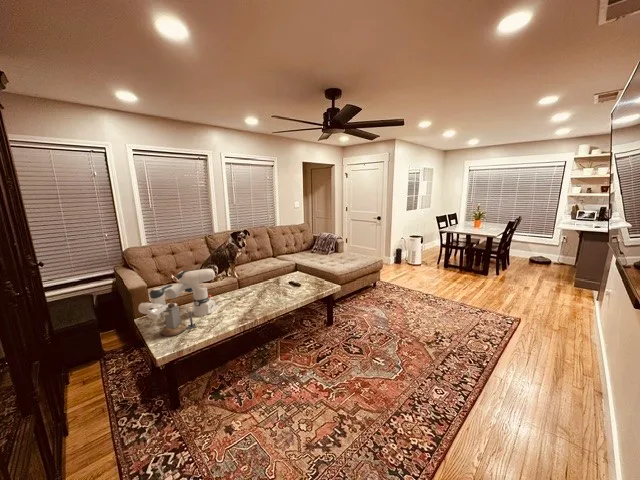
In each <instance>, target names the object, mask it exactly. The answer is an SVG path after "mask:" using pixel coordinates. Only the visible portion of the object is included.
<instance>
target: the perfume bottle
mask: <svg viewBox="0 0 640 480" xmlns="http://www.w3.org/2000/svg"><path fill="white" fill-rule="evenodd" d="M169 303H170V304H168V303H167V304H168V307H167V308H166V311H165V312H169V315H164V318H165V319H164V320H165V326H166V327H167V328H170V329H175V328H177V327H178V326H180V325H181V322H182V321H181V314H180V308H179V307H178V305H177V306H175V303H176V302H169Z"/></svg>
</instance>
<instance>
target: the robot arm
mask: <svg viewBox="0 0 640 480" xmlns="http://www.w3.org/2000/svg"><path fill="white" fill-rule="evenodd" d="M215 276H216V273H215V270H214V269H212V268H202V269H195V270H189V271H188V270H181V271H179V272H178V273H177V275H176V279H177V281H178V282H176V283H172V284H165V285H161V286H159V287H155V288H152V289H150V291H149V293H148V294H149V297H150V302H141V303H140V304H139V305H138V312H139V313H141V314H142V315H143V314H144V315H147V318H148V319H153V320H156V319H159V318H161V317H163V316H165V315H169V312H165V311H166V308H167V307H168V304H170V303H171V302H169V303H166V298H167V299H176V298H177V297H179V295H181V294H182V293H183V292H184V293H193V304H192V305H193V306H192V307H193V308H194V311H193V312H192V313H193V316H196V317H203V316H206V315H210V314H211V315H212V314H213V313H214V312H215V311H216V310H217V309H218V307H219V305H218V304H216V302H215V300H213V299H211V297H212V295H211V294H208V288H207V286H205V285H202V284H199V283H204V282H209V281H212V280H214V278H215ZM174 303H175V306H177V307H178V303H176V302H174Z"/></svg>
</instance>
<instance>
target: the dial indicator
mask: <svg viewBox="0 0 640 480" xmlns="http://www.w3.org/2000/svg"><path fill="white" fill-rule="evenodd" d="M193 311H194V308H193V306H190V305H189V306H188V307H187V308H186V313H188V314H189V323H190V324H188V325H187V327H188V330H192V329H196V323H193V314H192V313H193Z"/></svg>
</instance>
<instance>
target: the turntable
mask: <svg viewBox="0 0 640 480" xmlns="http://www.w3.org/2000/svg"><path fill="white" fill-rule="evenodd" d="M186 329H187V324H186V323H185V322H183V321H181V325H180V326H178V327H177V328H175V329H170V328H167V327H166V325H165V326H164V327H162V329H161V334H162V335H163V336H166V337H173V336H177V335H180V334H182V333H184V332H185V330H186Z"/></svg>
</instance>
